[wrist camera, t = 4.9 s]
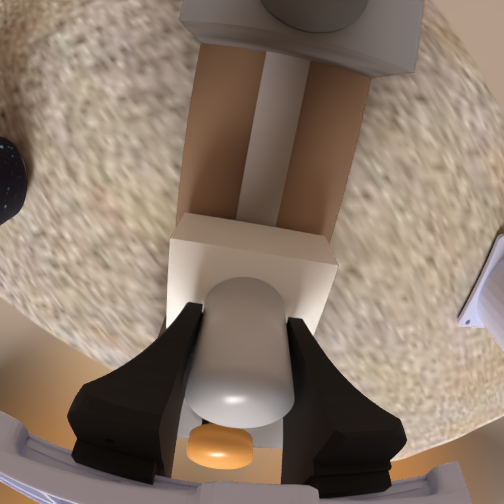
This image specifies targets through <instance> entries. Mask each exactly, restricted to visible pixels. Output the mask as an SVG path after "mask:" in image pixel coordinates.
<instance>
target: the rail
mask: <svg viewBox="0 0 504 504" xmlns="http://www.w3.org/2000/svg"><path fill="white" fill-rule="evenodd" d="M423 8H424V0H183V4H182V8H181V13H180V17H179V21H180V22H181V23H182V24H183V25H184V26H185V27H186V28H187V29H188V30H189V31H190V32H191V33H192V34H193V35H194V36H195V37H196V38H197V39H198V40H199V41H200V42H201V46H200V51H199V57H198V62H197V67H196V73H195V79H194V84H193V90H192V96H191V103H190V109H189V116H188V123H187V130H186V137H185V144H184V152H183V160H182V169H181V177H180V186H179V196H178V206H177V217H176V227H177V225H178V224H179V222H180V220H181V218H182V217H183V215H184V213H192V214H198V215H204V216H211V217H217V218H223V219H229V220H235V221H241V222H247V223H253V224H259V225H265V226H271V227H277V228H283V229H288V230H294V231H300V232H305V233H311V234H316V235H322V236H325V237H326V239H327V241H328V243H330V240H331V237H332V233H333V230H334V226H335V223H336V220H337V216H338V213H339V209H340V205H341V202H342V198H343V195H344V191H345V187H346V183H347V180H348V176H349V172H350V168H351V164H352V160H353V156H354V152H355V148H356V144H357V140H358V136H359V132H360V127H361V123H362V119H363V114H364V110H365V105H366V100H367V96H368V91H369V86H370V81H371V78H374V77H382V76H389V75H397V74H407V73H414V71H415V65H416V59H417V53H418V47H419V40H420V33H421V25H422V17H423ZM166 319H167V314H166V316H165V319H164V322H163V325H162V327H161V330H160V333H159V336H160V335H161V334H162V333H163V332H164V331H165V330H166ZM159 336H158V337H159ZM205 424H209V421H207V420H205V419H203V418H202V417H200V416H199V415H197V414H196V413H195V412H194V411H193V410H192V409H191V408H190V406H189V405H188V403H187V401H186V397H184V401H183V405H182V410H181V415H180V421H179V427H178V433H177V437H180V438H185V439H189V434H190V431H191V430H192V429H194V428H195V427H197V426H200V425H205ZM241 429H243V430H245V431H247V432H248V433H250V435H251V436H252V437H253V447H257V448H273V449H283V417H282V418H281V419H279V420H277V421H275V422H273V423H271V424H268V425H264V426H260V427H254V428H241Z"/></svg>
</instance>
